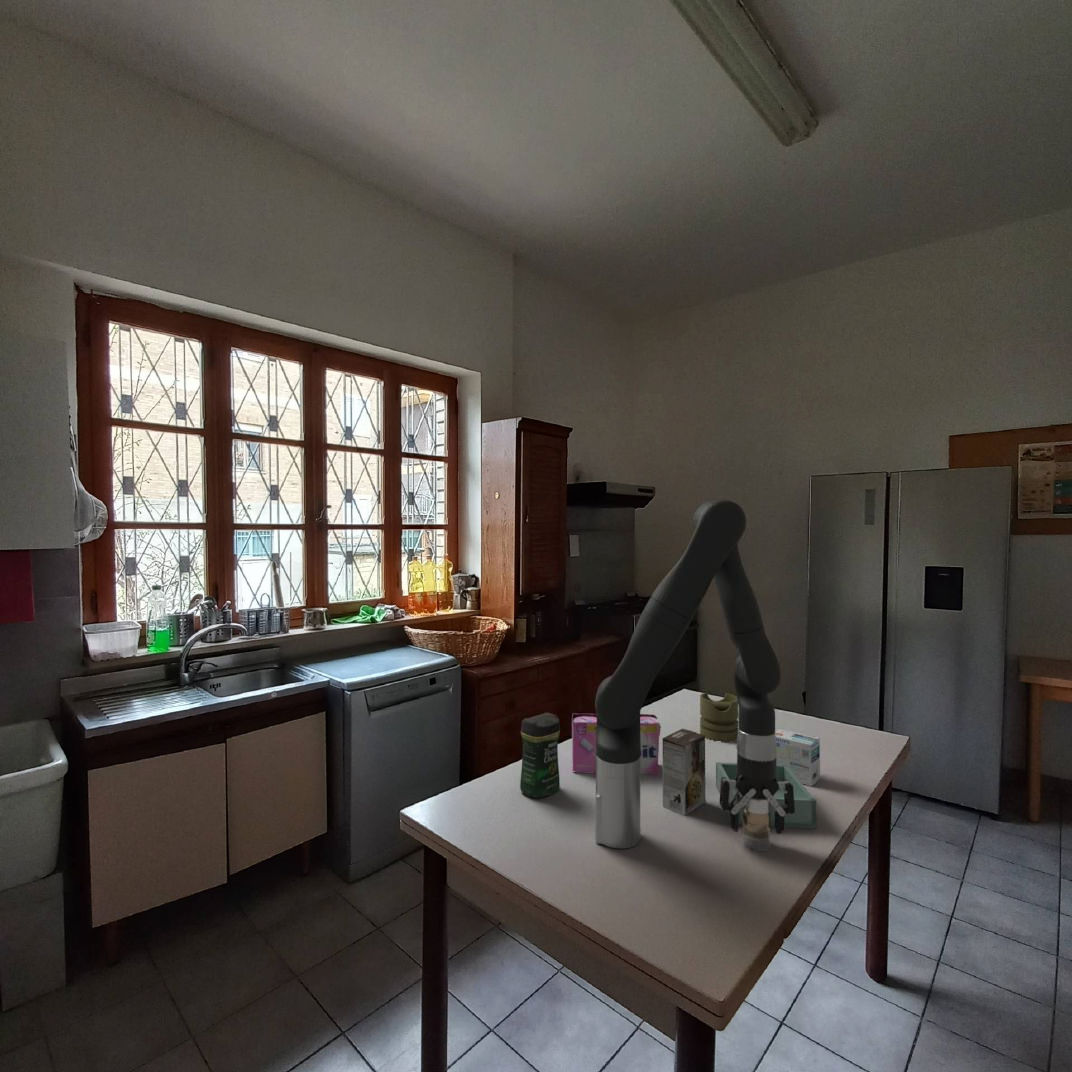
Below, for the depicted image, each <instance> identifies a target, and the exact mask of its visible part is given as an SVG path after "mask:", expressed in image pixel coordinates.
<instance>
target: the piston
mask: <svg viewBox="0 0 1072 1072" xmlns="http://www.w3.org/2000/svg"><path fill="white" fill-rule="evenodd" d="M699 700H700V701H699V703H700V704H699V707H700V708H699V710H700V711H699V712H700V713H699V714H700V717H699V728H700V729H699V734H702V735H705V738H706V739H705V740H708V739H709V740H708V741H711V740H713V741H712V742H716V741H721V742H720V743H731V742H730V741H733V742H736V741H737V737H738V728H739V705H738V700H737V696H736V695H734V694H731V693H727V692H726V693H725V695H724V696H723V698H722V699H720V700H713V699H711V698H710V697H709V695H708V692H703V693H701V694H700V695H699ZM735 740H736V741H735Z"/></svg>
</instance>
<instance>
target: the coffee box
mask: <svg viewBox="0 0 1072 1072" xmlns="http://www.w3.org/2000/svg"><path fill="white" fill-rule="evenodd" d="M706 801H707V800H706V739H705V735H702V734H700V733H698V732H695V731H693V730H691V729H690V730H689V729H686V728H681V729H678V730H677V731H675V732H673V733H671V734H668V735H666V736H664V737H663V738H662V807H664V808H666V809H668V810H672V811H674V812H676V813H678V814H681V815H683V816H687V815H689V814H690V813H691V812H693V811H694V810H695V809H697V808H699V807H700V806H701V805H703V804H704V803H706Z"/></svg>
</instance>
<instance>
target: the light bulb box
mask: <svg viewBox="0 0 1072 1072" xmlns="http://www.w3.org/2000/svg"><path fill="white" fill-rule="evenodd" d="M775 736H776V745H777V762H776V765H787V766H788V767H789V768H790V770H791V771H792V772H793V773H794V775H795V776H796V777H797V778H798V779H799V781H800V782H801V783H802V784H803V785H805V784H806V785H805V786H809V787H812V786H814V785H815V784H816V783H817V782H818V781H819V780H820V779H821V743H820V741H821V738H820V737H816V736H811V735H807V734H803V733H799V732H794V731H789V730H784V729H782V728H779V729H777V730H775Z"/></svg>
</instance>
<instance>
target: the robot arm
mask: <svg viewBox="0 0 1072 1072" xmlns="http://www.w3.org/2000/svg"><path fill="white" fill-rule="evenodd" d="M692 521H693V523H692V525H693V529H694V533H693V534H692V536H691V539H690V541H689V543H688V545H687V547H686V549H685V551H684V552H683V555H682V556H681V557H680V559H679V560H678V561H677V562H676V564H675V565H674V566H673V567H672V569H670V571H668V573H667V574H666V576H665V577H663V579H662V580H661V581H660V583H659V584H658V585H657V586H656V587H655V588H656V589H655V590H654V591H653V592H652V594H651V596H650V598H649V599H648V602H647V603H646V605H645V607H644V609H643V610H642V612H641V614H640V616H639V619H638V621H637V623H636V626H635V628H634V631H633V633H632V635H631V639H630V640H629V644H628V647H627V650H626V651H625V653H624V657H622V659H621V661H620V663H619V665H618V667H617V668H616V669H615V671H614V672H613V674H612V675H611V676H608V677H606V678H605V679H604V680H602V682H601V683H600V684H599V686H598V687H597V691H596V694H595V701H594V707H595V712H596V713H595V714H597V729H596V773H595V843H596V844H602V845H603V846H606V847H608V848H612V849H613V848H614V849H629V848H632V847H635V846H636V845H638V844H640V840H641V830H642V829H641V828H642V827H641V774H640V748H641V740H640V714H641V710H642V708H643V706H644V704H645V703H644V702H645V700H646V699H647V696H648V694H649V692H650V689H651V687H652V685H653V683H654V681H655V678H656V677H657V676H658V674H659V672H660V671H661V669H662V668H663V666H664V665H665V663H666V662H667V661H668V659H669V658H670V656H671V655H672V653H673V651H674V650H675V648H676V646H677V645H678V644H679V642H680V641H681V640H682V638H683V636H684V635H685V632H686V631H687V629H688V627H689V625H690V624H691V622H692V620H693V619H694V617H695V614H696V613H697V611H698V609H699V607H700V605H701V603H702V602H703V599H704V597H705V596H706V594H707V592H708V590H709V588H710V586H711V583H712V581H713V580H714V581H715V585H716V589H717V593H718V597H719V601H720V605H721V610H722V613H723V618H724V622H725V625H726V630H727V633H728V636H729V640H730V641H731V643H732V644H733V645H734V646H735V648H736V649H737V651H738V652H739V656H738V657H737V658H736V659H735V661H734V665H733V670H732V671H733V672H732V674H733V684H734V689H735V690H734V691H735V696H736V697H737V700H738V737H737V740H736V742H737V743H736V755H737V756H736V763H737V777H736V779H735V780H729V779H727V778H726V777H722V778H721V787H720V793H719V806H720V807H721V809H722V810H723V811H724V812H728V811H729V812H728V824H729V826H730V828H731V830H733V833H738V832H739V825H738V814H737V812H738V811H739V810H740V809H741V807H744V806H745V804H746V803H747V802H748V801H749V799H750V798H767V799H768V800H769V802H770V803H771V804H772V806H773V807H774V808H775V809H776V811H775V827H774V831H775V833H776V834H777V835H782V832H784V831H785V827H784V817H785V815H786V814H788V813H790V814H793V813H794V812H795V806H794V790H793V785H792V784H791V783H790V781H789V780H787V779H785V780H784V781H783V782H777V780H776V762H777V745H776V736H775V731H776V710H775V708H774V705H773V704H772V702H771V701H770V699H769V695H768V694H771V693H773V692H774V691H776V689H778V687H779V685H780V683H781V678H782V673H781V672H782V671H781V666H780V663H779V661H778V657H777V656H776V653H775V651H774V648H773V646H772V644H771V643H770V641H769V639H768V636H767V634H766V631H765V627H764V623H763V622H764V621H763V617H762V614H761V609H760V606H759V603H758V600H757V598H756V595H755V592H754V590H753V587H752V586H751V584H750V581H749V579H748V576H747V573H746V571H745V569H744V566H743V562H742V559H741V554H740V549H739V544H738V543H739V541H741V539H742V537H743V535H744V533H745V532H746V531H745V530H746V528H747V518H746V513H745V511H744V509H743V508H742V507H741V506H740V505H739V504H738V503H737V502H735V501H732V500H728V499H713V500H708V501H705V502H703V503H702V504H701V505H700V506H699V507H698V508H697V509H696V511H695V512H694V515H693V520H692ZM735 786H736V787H737V789H738V790H739V791H738V792H737V793H736V794H735V796H734V798H733V800H732V801H731V802H730V803H729V791H732V789H733V787H735ZM779 788H781V791H782V792H783V793H784V802H785V804H784V805H780V804H779V803H778V802H777V800H776V799H775V797H774V794H775V793H776V792H777V791H778V789H779Z"/></svg>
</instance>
